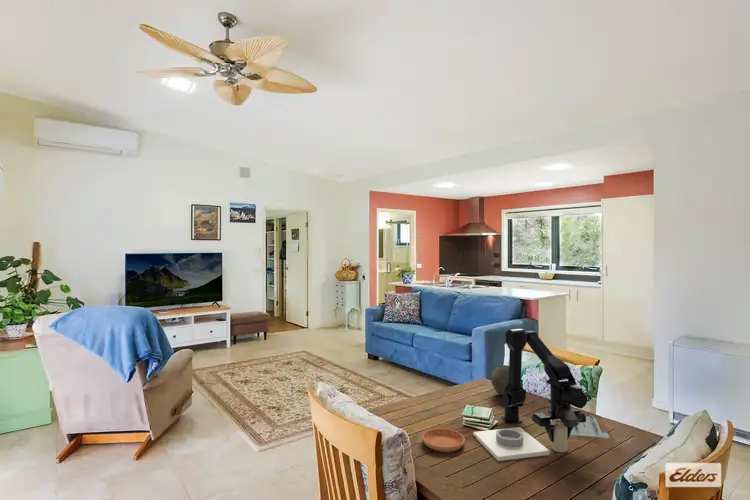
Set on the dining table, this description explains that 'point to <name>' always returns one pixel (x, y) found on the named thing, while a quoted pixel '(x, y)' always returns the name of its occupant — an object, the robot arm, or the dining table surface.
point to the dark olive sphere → (500, 378)
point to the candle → (559, 437)
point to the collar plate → (511, 451)
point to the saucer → (443, 440)
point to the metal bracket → (589, 429)
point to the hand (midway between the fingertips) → (559, 440)
